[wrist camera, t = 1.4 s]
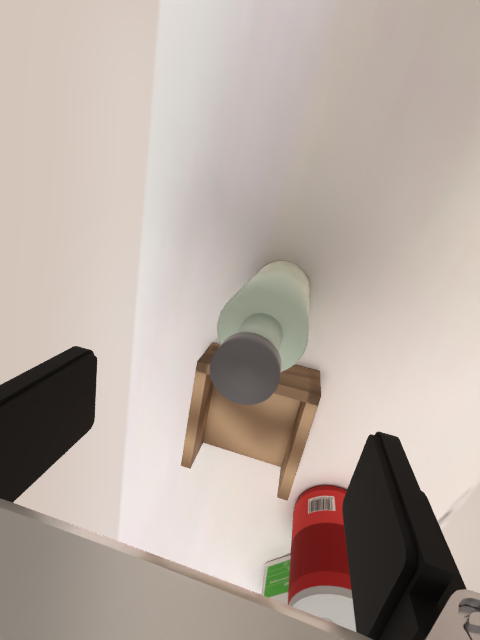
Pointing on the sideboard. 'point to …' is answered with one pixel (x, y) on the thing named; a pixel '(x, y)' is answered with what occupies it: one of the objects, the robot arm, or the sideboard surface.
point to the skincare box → (277, 579)
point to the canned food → (321, 558)
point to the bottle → (261, 333)
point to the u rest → (254, 420)
